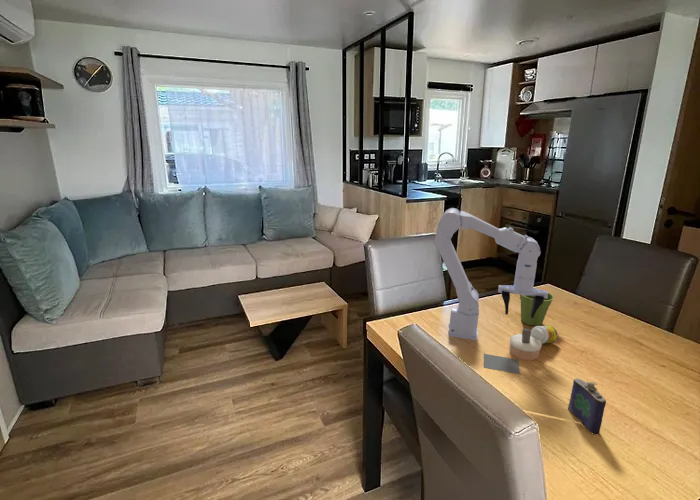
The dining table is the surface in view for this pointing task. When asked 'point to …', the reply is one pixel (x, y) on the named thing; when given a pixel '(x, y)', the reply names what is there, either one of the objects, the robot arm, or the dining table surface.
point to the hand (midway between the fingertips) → (519, 314)
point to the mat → (501, 363)
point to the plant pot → (540, 313)
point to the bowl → (523, 353)
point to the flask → (587, 405)
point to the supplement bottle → (545, 334)
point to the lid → (525, 341)
